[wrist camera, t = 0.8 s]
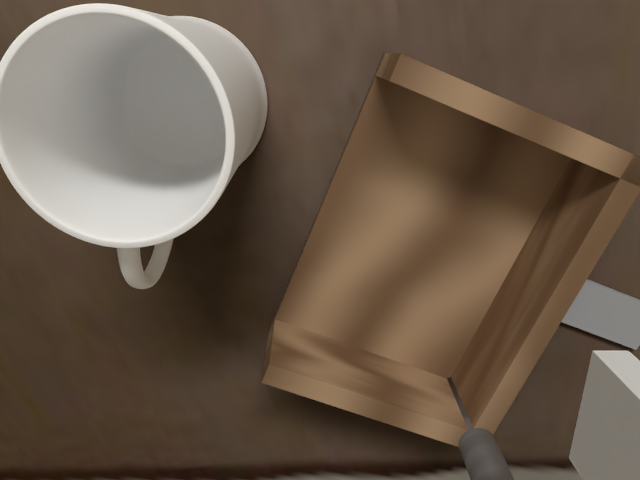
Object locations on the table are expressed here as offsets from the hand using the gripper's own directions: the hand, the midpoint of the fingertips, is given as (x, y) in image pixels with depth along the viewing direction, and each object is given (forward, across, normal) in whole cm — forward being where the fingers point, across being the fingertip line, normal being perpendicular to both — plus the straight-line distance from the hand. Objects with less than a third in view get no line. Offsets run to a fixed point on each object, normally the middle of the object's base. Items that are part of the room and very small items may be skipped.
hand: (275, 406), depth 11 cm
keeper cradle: (+21, +8, -4) cm, 22 cm away
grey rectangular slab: (+20, +19, -8) cm, 29 cm away
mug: (+21, -6, +2) cm, 22 cm away
